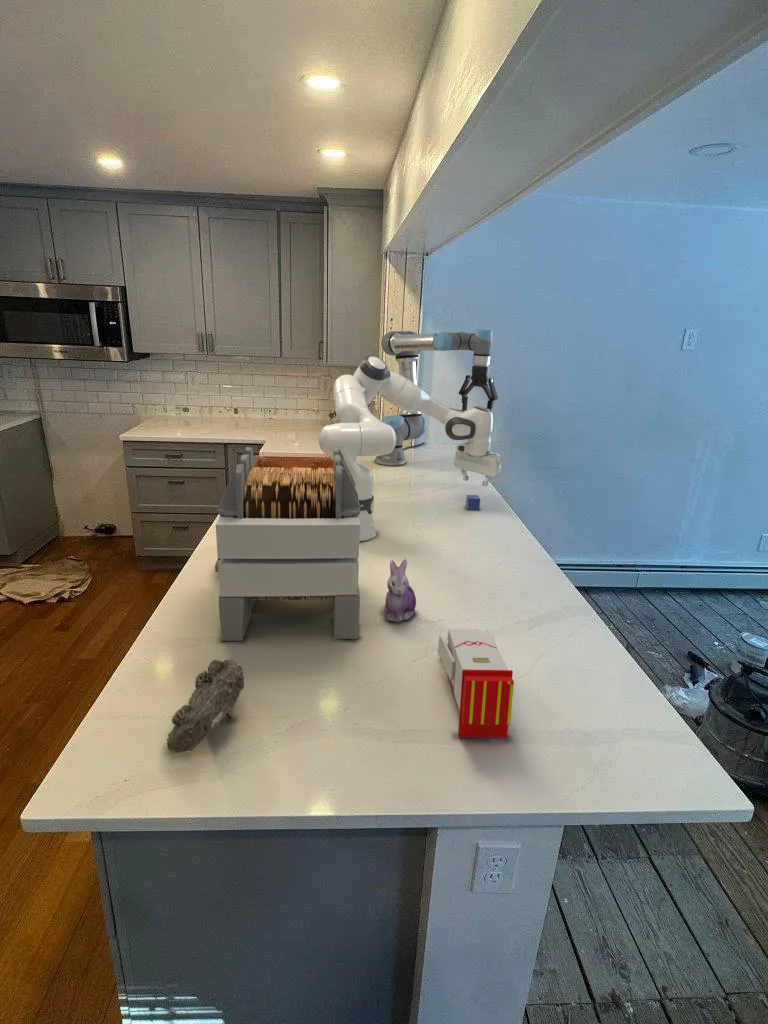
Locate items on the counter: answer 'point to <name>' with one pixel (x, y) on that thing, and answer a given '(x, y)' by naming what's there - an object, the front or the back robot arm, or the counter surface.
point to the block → (472, 502)
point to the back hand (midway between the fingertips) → (476, 412)
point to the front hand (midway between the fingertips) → (475, 482)
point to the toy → (478, 682)
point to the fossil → (206, 705)
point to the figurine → (399, 594)
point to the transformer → (288, 542)
